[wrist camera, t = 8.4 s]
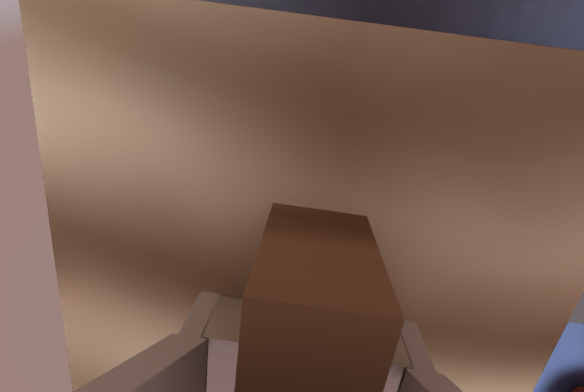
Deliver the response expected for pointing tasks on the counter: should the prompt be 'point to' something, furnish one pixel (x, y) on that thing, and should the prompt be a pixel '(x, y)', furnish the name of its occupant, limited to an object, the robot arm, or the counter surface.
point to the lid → (308, 189)
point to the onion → (579, 389)
